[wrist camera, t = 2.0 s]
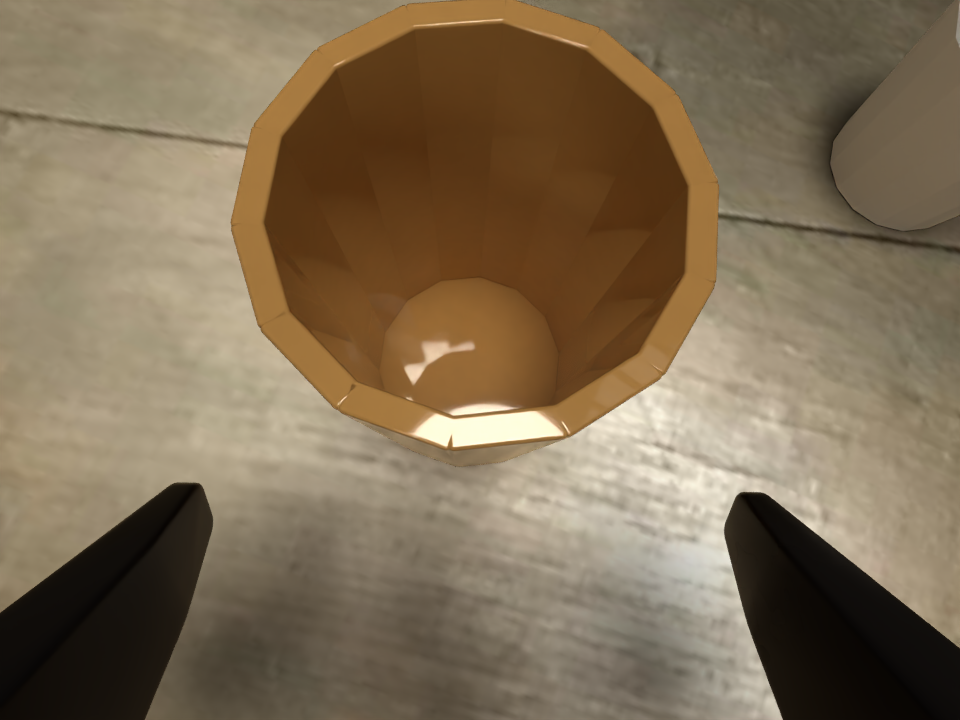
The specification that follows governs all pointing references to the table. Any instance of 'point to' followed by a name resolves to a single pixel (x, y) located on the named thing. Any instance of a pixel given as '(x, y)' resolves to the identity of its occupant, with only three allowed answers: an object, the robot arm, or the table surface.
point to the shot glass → (908, 137)
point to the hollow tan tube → (476, 226)
